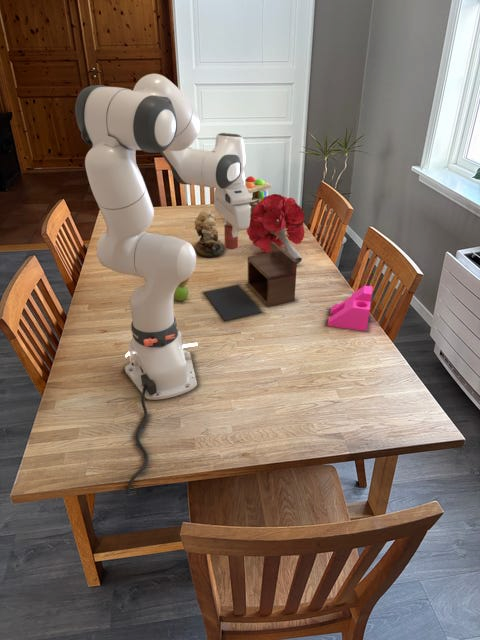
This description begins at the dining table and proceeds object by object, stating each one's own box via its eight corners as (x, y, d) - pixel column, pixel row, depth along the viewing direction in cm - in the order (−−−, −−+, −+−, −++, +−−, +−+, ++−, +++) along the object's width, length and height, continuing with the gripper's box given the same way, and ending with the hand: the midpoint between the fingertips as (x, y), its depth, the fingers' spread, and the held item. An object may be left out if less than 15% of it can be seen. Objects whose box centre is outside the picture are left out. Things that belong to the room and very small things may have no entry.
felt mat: (261, 312, 163) (261, 311, 162) (225, 321, 158) (225, 320, 158) (237, 285, 178) (237, 284, 178) (203, 292, 174) (203, 291, 174)
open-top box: (294, 300, 169) (297, 261, 161) (268, 306, 166) (269, 266, 158) (272, 279, 182) (273, 241, 174) (247, 284, 179) (247, 246, 171)
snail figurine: (189, 304, 167) (187, 272, 160) (170, 302, 168) (168, 270, 161) (193, 296, 171) (191, 265, 165) (175, 294, 172) (173, 263, 166)
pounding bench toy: (283, 222, 230) (285, 184, 220) (260, 229, 222) (261, 190, 212) (251, 208, 245) (251, 172, 235) (228, 215, 237) (228, 178, 227)
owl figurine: (227, 258, 198) (226, 217, 188) (197, 260, 196) (195, 219, 187) (220, 240, 213) (219, 201, 203) (193, 242, 211) (191, 203, 202)
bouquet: (313, 270, 203) (283, 215, 214) (330, 235, 182) (296, 175, 194) (266, 284, 196) (237, 226, 208) (278, 248, 176) (245, 186, 187)
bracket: (368, 314, 162) (372, 286, 156) (366, 331, 153) (371, 302, 148) (331, 309, 164) (334, 281, 159) (327, 325, 156) (330, 297, 151)
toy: (240, 248, 156) (239, 217, 151) (227, 250, 155) (227, 220, 150) (234, 243, 160) (234, 213, 154) (222, 245, 158) (222, 215, 153)
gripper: (208, 181, 154) (210, 223, 162) (233, 201, 138) (234, 247, 146) (227, 178, 156) (227, 220, 164) (254, 198, 141) (253, 243, 148)
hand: (231, 233), depth 155 cm, fingers closed on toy, 4 cm apart
